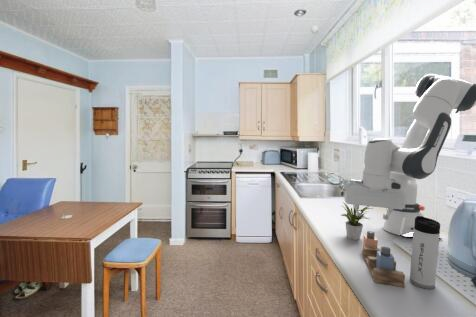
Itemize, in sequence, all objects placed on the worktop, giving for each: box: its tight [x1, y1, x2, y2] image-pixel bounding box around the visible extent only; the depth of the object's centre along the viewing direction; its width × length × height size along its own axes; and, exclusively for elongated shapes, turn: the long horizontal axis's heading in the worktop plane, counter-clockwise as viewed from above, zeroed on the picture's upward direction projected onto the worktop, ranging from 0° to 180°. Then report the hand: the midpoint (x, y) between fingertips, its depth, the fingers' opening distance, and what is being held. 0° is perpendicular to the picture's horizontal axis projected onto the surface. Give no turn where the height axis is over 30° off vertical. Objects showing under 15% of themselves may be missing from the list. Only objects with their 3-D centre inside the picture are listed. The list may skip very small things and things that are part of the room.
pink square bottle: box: [362, 230, 379, 248], centre depth 98 cm, size 4×4×8 cm
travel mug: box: [409, 216, 441, 290], centre depth 77 cm, size 6×7×20 cm
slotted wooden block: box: [362, 245, 406, 288], centre depth 86 cm, size 8×19×4 cm, turn 164°
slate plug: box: [376, 246, 395, 270], centre depth 81 cm, size 4×4×8 cm
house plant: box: [340, 201, 374, 241], centre depth 110 cm, size 14×14×16 cm
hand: (371, 217), depth 96 cm, fingers open, 8 cm apart
